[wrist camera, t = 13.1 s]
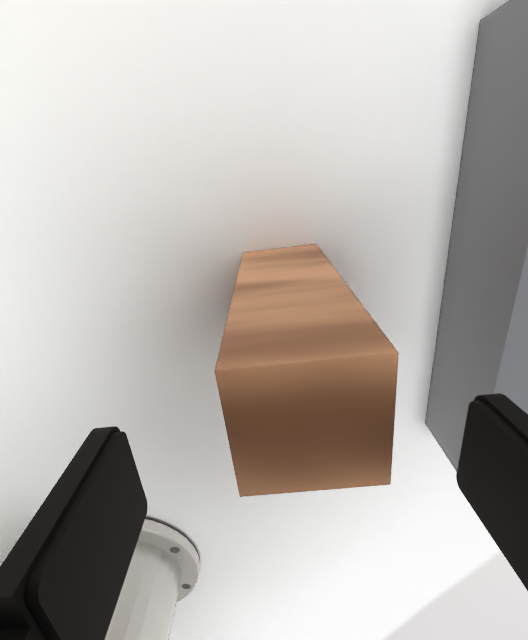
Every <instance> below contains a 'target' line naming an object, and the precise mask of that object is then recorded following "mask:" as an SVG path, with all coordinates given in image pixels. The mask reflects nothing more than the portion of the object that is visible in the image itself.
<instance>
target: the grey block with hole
mask: <svg viewBox="0 0 528 640" xmlns="http://www.w3.org/2000/svg"><path fill="white" fill-rule="evenodd" d="M497 393H500V394H503V395H505V396H507V397H508V398H509V399H510V400H511V401H512V402H514V403H515V404H516V405H517V406H518V407H519V408H521V409H522V410H523V411H524V412H525V413H527V414H528V0H509V1H508V2H506V3H505V4H504V5H502V6H501V7H499V8H498V9H496V10H495V11H493V12H492V13H491V14H489V15H488V16H486V17H485V18H483V19H482V20H481V21H480V27H479V34H478V41H477V49H476V56H475V63H474V71H473V78H472V85H471V92H470V100H469V107H468V114H467V122H466V129H465V136H464V144H463V151H462V158H461V166H460V173H459V180H458V187H457V195H456V202H455V209H454V217H453V224H452V231H451V239H450V246H449V253H448V261H447V268H446V275H445V283H444V290H443V297H442V304H441V312H440V319H439V326H438V334H437V341H436V348H435V356H434V363H433V370H432V378H431V385H430V392H429V399H428V407H427V414H426V421H425V424H426V425H427V427H428V428H429V430H430V431H431V433H432V434H433V436H434V438H435V439H436V441H437V442H438V444H439V445H440V447H441V448H442V450H443V451H444V453H445V454H446V456H447V458H448V459H449V461H450V462H451V464H452V465H453V467H454V468H455V470H456V471H457V469H458V463H459V458H460V452H461V446H462V440H463V434H464V429H465V423H466V417H467V411H468V406H469V403H470V402H472V401H474V399H475V397H476V396H478V395H486V394H497Z"/></svg>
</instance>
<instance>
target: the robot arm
mask: <svg viewBox="0 0 528 640" xmlns="http://www.w3.org/2000/svg"><path fill="white" fill-rule="evenodd" d="M456 477H457V483H458V486H459V488H460V490H461V491H462V493H463V494H464V496H465V497H466V499H467V500H468V502H469V503H470V505H471V506H472V508H473V509H474V511H475V512H476V514H477V515H478V517H479V518H480V520H481V521H482V523H483V524H484V526H485V527H486V529H487V530H488V532H489V533H490V535H491V536H492V538H493V539H494V541H495V542H496V544H497V545H498V547H499V548H500V550H501V551H502V553H503V554H504V556H505V557H506V559H507V560H508V562H509V563H510V565H511V566H512V568H513V569H514V571H515V572H516V574H517V575H518V577H519V578H520V580H521V581H522V583H523V584H524V586H525V587H526V589H527V590H528V414H527V413H525V412H524V411H523V410H522V409H521V408H519V407H518V406H517V405H516V404H515V403H514V402H512V401H511V400H510V399H509V398H508V397H507V396H505V395H503V394H500V393H497V394H486V395H478V396H476V397H475V399H474V401H472V402H470V403H469V406H468V411H467V417H466V423H465V429H464V434H463V440H462V446H461V452H460V458H459V463H458V469H457V476H456ZM146 514H147V500H146V497H145V493H144V490H143V487H142V484H141V481H140V477H139V474H138V471H137V468H136V465H135V461H134V458H133V455H132V452H131V448H130V445H129V442H128V439H127V436H126V433H125V432H120V430H119V428H118V427H105V428H95V429H93V430H92V431H91V432H90V434H89V435H88V437H87V438H86V440H85V441H84V443H83V444H82V446H81V447H80V449H79V450H78V452H77V453H76V455H75V456H74V458H73V459H72V461H71V462H70V464H69V465H68V467H67V468H66V470H65V471H64V473H63V474H62V476H61V477H60V479H59V480H58V482H57V483H56V484H55V486H54V487H53V489H52V490H51V492H50V493H49V495H48V496H47V498H46V499H45V501H44V502H43V504H42V505H41V507H40V508H39V510H38V511H37V513H36V514H35V516H34V517H33V519H32V520H31V522H30V523H29V525H28V526H27V528H26V529H25V531H24V532H23V534H22V535H21V537H20V538H19V540H18V541H17V543H16V544H15V546H14V547H13V549H12V550H11V552H10V553H9V555H8V556H7V558H6V559H5V561H4V562H3V563H2V565H1V566H0V640H169V636H170V631H171V626H172V621H173V616H174V611H175V606H176V602H177V601H179V600H181V599H182V598H184V597H185V596H187V595H188V594H189V593H190V592H191V591H192V590H193V588H194V587H195V585H196V583H197V580H198V575H199V569H200V560H199V557H198V553H197V552H196V550H195V548H194V546H193V545H192V544H191V543H190V542H189V541H188V540H187V539H186V538H185V537H184V536H183V535H181V534H180V533H179V532H177V531H176V530H174V529H172V528H170V527H168V526H166V525H164V524H161V523H158V522H155V521H152V520H148V519H145V518H146Z"/></svg>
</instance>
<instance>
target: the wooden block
mask: <svg viewBox="0 0 528 640" xmlns="http://www.w3.org/2000/svg"><path fill="white" fill-rule="evenodd" d="M397 369H398V351H397V350H396V349H395V347H394V346H393V345H392V343H391V342H390V341H389V339H388V338H387V337H386V336H385V334H384V333H383V332H382V330H381V329H380V328H379V326H378V325H377V324H376V322H375V321H374V320H373V318H372V317H371V316H370V314H369V313H368V312H367V310H366V309H365V308H364V306H363V305H362V304H361V302H360V301H359V300H358V298H357V297H356V296H355V294H354V293H353V292H352V291H351V289H350V288H349V287H348V285H347V284H346V283H345V281H344V280H343V279H342V277H341V276H340V275H339V273H338V272H337V271H336V269H335V268H334V267H333V265H332V264H331V263H330V261H329V260H328V259H327V257H326V256H325V255H324V253H323V252H322V251H321V249H320V248H319V247H318V246H317V244H313V245H304V246H295V247H286V248H277V249H268V250H259V251H250V252H243V254H242V259H241V263H240V267H239V271H238V275H237V279H236V284H235V288H234V292H233V296H232V300H231V304H230V309H229V313H228V317H227V321H226V325H225V329H224V334H223V338H222V342H221V346H220V350H219V355H218V359H217V363H216V367H215V375H216V380H217V385H218V390H219V395H220V400H221V405H222V410H223V415H224V420H225V425H226V430H227V435H228V440H229V445H230V450H231V455H232V460H233V465H234V470H235V475H236V480H237V485H238V490H239V495H240V497H242V496H254V495H267V494H279V493H291V492H303V491H316V490H328V489H340V488H352V487H365V486H377V485H389V484H390V481H391V465H392V449H393V433H394V417H395V401H396V385H397Z"/></svg>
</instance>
